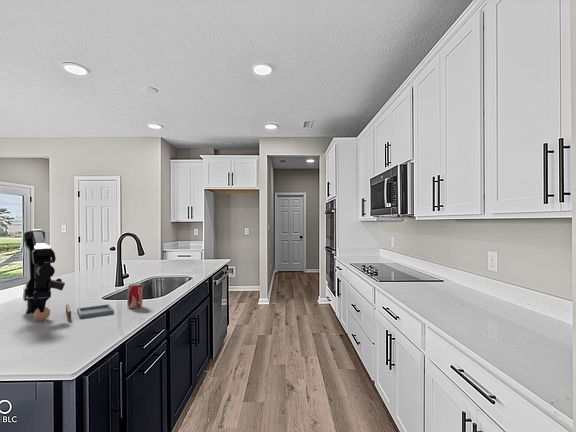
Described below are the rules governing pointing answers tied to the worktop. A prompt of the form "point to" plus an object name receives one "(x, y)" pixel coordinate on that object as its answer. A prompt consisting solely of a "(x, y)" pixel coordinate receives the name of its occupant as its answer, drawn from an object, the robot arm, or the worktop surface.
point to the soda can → (134, 295)
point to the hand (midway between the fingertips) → (42, 310)
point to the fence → (68, 312)
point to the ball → (41, 314)
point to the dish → (94, 311)
